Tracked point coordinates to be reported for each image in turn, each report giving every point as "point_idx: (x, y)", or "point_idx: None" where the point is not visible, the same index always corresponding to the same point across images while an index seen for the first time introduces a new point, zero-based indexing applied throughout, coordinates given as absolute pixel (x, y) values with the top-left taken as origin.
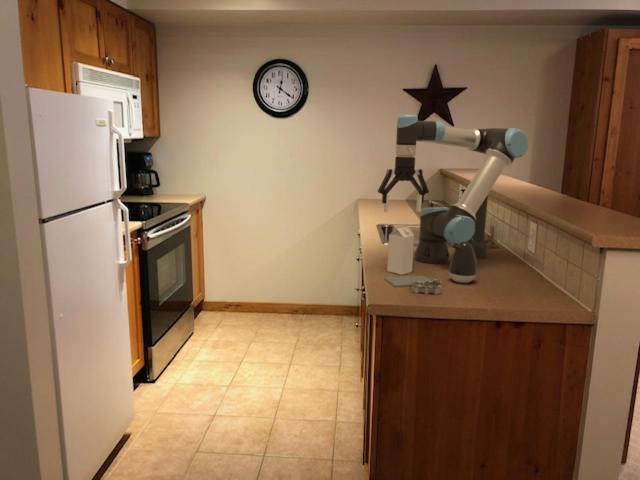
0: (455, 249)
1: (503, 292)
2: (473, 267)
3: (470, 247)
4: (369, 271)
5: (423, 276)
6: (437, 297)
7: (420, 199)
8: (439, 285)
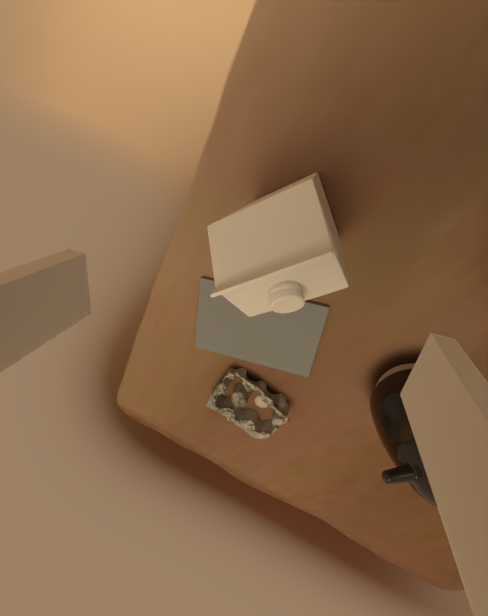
0: (409, 454)
1: None
2: None
3: None
4: (196, 174)
5: (322, 316)
6: None
7: (458, 536)
8: (279, 419)
